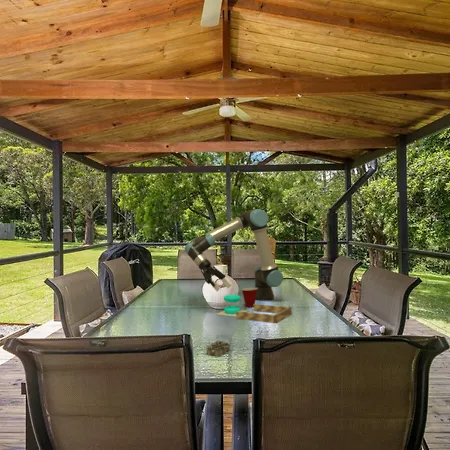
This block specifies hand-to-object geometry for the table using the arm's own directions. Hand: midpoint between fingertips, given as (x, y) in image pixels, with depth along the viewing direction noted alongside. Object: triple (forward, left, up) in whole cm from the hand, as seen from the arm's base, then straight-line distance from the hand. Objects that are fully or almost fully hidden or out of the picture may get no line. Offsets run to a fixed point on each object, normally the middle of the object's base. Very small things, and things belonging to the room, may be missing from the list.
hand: (224, 288), depth 237 cm
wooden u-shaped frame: (+24, +11, -14) cm, 30 cm away
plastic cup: (-3, +22, -15) cm, 27 cm away
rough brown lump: (+60, -46, -15) cm, 77 cm away
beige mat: (+5, +2, -14) cm, 15 cm away
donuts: (+5, +2, -14) cm, 15 cm away
